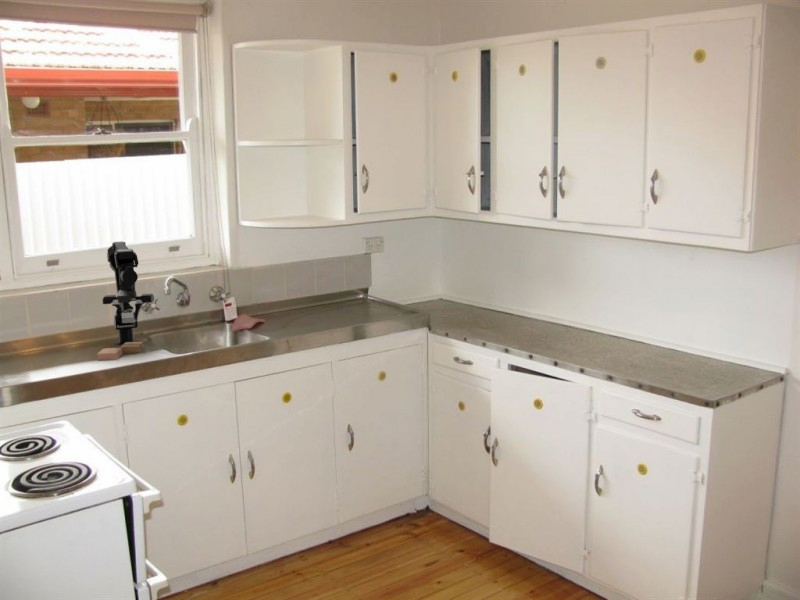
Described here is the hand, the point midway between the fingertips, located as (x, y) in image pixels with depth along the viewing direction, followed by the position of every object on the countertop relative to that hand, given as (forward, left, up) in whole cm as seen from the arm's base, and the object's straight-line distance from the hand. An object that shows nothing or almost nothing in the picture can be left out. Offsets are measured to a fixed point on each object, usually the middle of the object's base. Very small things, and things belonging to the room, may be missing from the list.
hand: (130, 320), depth 333 cm
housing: (0, 0, 0) cm, 0 cm away
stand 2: (0, 0, -12) cm, 12 cm away
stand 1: (+10, -6, -12) cm, 17 cm away
